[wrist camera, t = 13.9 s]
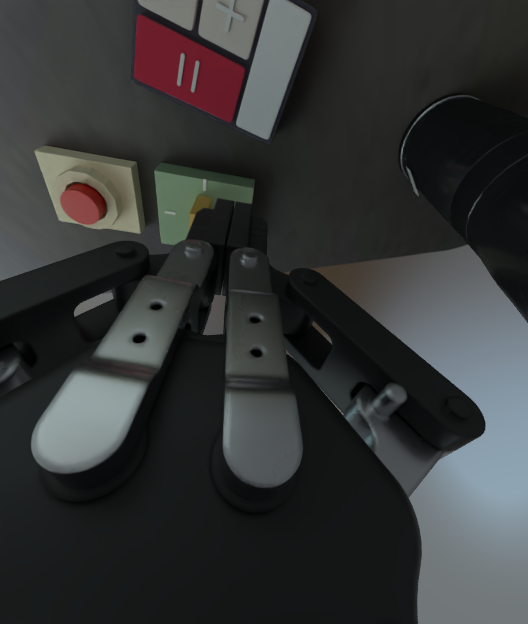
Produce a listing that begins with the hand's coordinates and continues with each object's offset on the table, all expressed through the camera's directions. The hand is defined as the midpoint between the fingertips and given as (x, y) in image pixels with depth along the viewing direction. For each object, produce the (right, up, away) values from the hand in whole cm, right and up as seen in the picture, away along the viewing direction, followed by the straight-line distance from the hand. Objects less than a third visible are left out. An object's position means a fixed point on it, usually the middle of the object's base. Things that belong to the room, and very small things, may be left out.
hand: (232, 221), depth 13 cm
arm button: (-21, +10, +24) cm, 33 cm away
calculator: (-3, +22, +16) cm, 28 cm away
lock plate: (-7, +11, +28) cm, 30 cm away
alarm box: (-21, +13, +26) cm, 36 cm away
